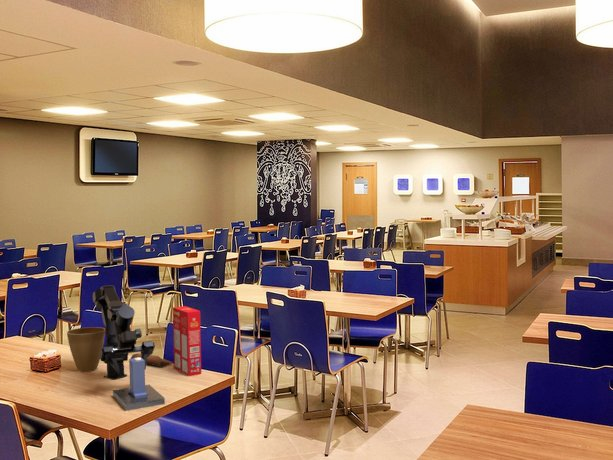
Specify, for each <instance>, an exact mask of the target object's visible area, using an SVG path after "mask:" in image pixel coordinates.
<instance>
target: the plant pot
mask: <svg viewBox="0 0 613 460" xmlns="http://www.w3.org/2000/svg"><path fill="white" fill-rule="evenodd" d="M66 336H67V341H68V346H69V350H70V353H71V355H72V359H73V362H74V365H75V367H76V368H77V371H79V372H91V371H95V370H97V369H98V366H99V363H100V352H101V348H102V347H104V346H105V337H106V332H105V327H98V326H95V327H94V326H93V327H92V326H91V327H90V326H87V327H79V328H74V329H69V330H67V331H66Z"/></svg>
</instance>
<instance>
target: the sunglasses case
mask: <svg viewBox="0 0 613 460" xmlns="http://www.w3.org/2000/svg"><path fill="white" fill-rule="evenodd" d="M141 356H142V354H141V353H134V354H132V355H131V357H130V359H132V358H137V357H141ZM146 365H150V366H155V367H156V366H157V367H160V368H165V367H169V366H171V365H174V362H172V361H170V360H167V359H165V358H161V356H159V355H153V354H151V355H150V356H149V357H147V363H146Z"/></svg>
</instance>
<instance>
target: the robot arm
mask: <svg viewBox="0 0 613 460" xmlns="http://www.w3.org/2000/svg"><path fill="white" fill-rule="evenodd" d="M92 301H93V303H94V305H95V308H96V309H98V310H99V311H100V313H101V317H102V322H103V326H104V327H103V328H105V337H106V342H105V344H104V346H103V347H102V348H101V352H100V361H101V362H103V363H104V364H106V374H105V375H104V376H103V378H106V379H111V380H117V379H120V378H124V377H127V376H128V374H127V373H125V365H124V362H125V361H126V362H127V361H128V358H129V354H133V353H134V354H135V353H140V354H142V356H141V358H142V359H143V360H145V370H146V369H147V364H146V363H147V357H149V356H150V355H153V354H154V351H155V348H156V346H155V342H154V341H153V340H147V341H142V343H141V345H139V346H138V345H137V340H138V339H141V338H142V337H143V333H142V329H141V328H135V329H134V330H132V328H131V325H132V323H133V320H134V316H135V313H136V312H135V311H136V310H135V309H134V308H133V307H131V306H130V305H128V303H126V302H124V301H121V300H120V297H119V296H118V293H117V291H116V286H115V285H112V284H111V285H103V286H101V287H100V288H98V289H95V290H94V291H93V293H92ZM136 345H137V346H136ZM100 361H99V362H100Z"/></svg>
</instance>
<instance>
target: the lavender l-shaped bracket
mask: <svg viewBox="0 0 613 460" xmlns="http://www.w3.org/2000/svg"><path fill="white" fill-rule="evenodd" d="M128 362H129V365H128V366H129V387H127V388H128V391H129V392H130V396H131V397H132V398H135V399H139V398H145V397H147V393H146V392H145V385H146V369H145V360H143V359H142V358H141V357H137V358H132V359H131V358H129V361H128Z"/></svg>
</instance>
